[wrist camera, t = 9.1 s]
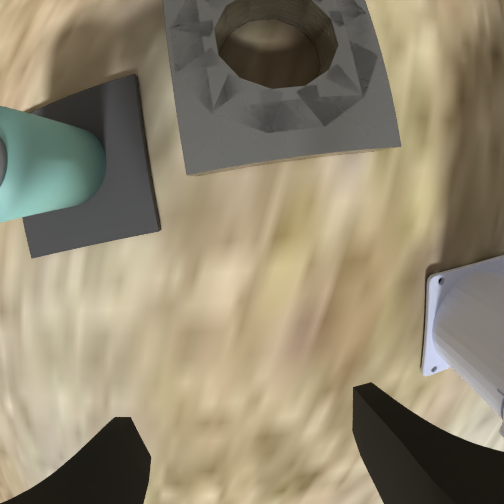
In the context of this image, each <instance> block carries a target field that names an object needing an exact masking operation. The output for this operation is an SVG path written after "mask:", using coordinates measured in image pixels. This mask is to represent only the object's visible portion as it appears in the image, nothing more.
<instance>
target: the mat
mask: <svg viewBox="0 0 504 504" xmlns="http://www.w3.org/2000/svg"><path fill="white" fill-rule="evenodd" d="M30 114H33V115H37V116H41V117H44V118H48V119H51V120H55V121H58V122H61V123H65V124H68V125H72V126H75V127H78V128H81V129H85V130H87V131H90V132H91V133H93V134H94V135H95V136H96V137H97V138H98V139H99V140H100V142H101V144H102V146H103V148H104V151H105V155H106V172H105V176H104V180H103V182H102V185H101V186H100V188H99V190H98V191H97V193H96V194H95V195H94V196H93V197H92V198H91V199H90V200H88V201H87V202H85V203H83V204H81V205H78V206H73V207H68V208H63V209H58V210H53V211H48V212H44V213H39V214H34V215H30V216H25V217H22V218H23V223H24V228H25V232H26V237H27V241H28V246H29V250H30V254H31V258H36V257H40V256H45V255H49V254H53V253H58V252H62V251H67V250H71V249H76V248H80V247H85V246H90V245H94V244H99V243H104V242H108V241H113V240H118V239H123V238H128V237H133V236H138V235H143V234H148V233H153V232H158V231H160V230H161V226H160V221H159V216H158V211H157V206H156V200H155V195H154V189H153V184H152V178H151V172H150V166H149V160H148V154H147V147H146V141H145V134H144V127H143V120H142V112H141V104H140V96H139V87H138V78H137V76H136V75H135V74H132V75H129V76H126V77H122V78H119V79H116V80H113V81H110V82H107V83H104V84H101V85H98V86H95V87H92V88H89V89H87V90H84V91H81V92H79V93H76V94H73V95H71V96H68V97H66V98H63V99H61V100H59V101H56V102H54V103H51V104H49V105H47V106H45V107H42V108H40V109H38V110H36V111H34V112H31V113H30Z"/></svg>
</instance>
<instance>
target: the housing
mask: <svg viewBox="0 0 504 504" xmlns="http://www.w3.org/2000/svg"><path fill="white" fill-rule="evenodd" d="M163 7H164V17H165V26H166V35H167V44H168V52H169V61H170V68H171V76H172V83H173V91H174V98H175V105H176V112H177V118H178V125H179V131H180V138H181V144H182V150H183V156H184V162H185V168H186V174H187V175H190V176H200V175H205V174H211V173H216V172H222V171H227V170H233V169H239V168H245V167H251V166H257V165H264V164H271V163H277V162H284V161H292V160H299V159H307V158H315V157H323V156H332V155H341V154H351V153H361V152H373V151H379V150H384V149H390V148H396V147H401V142H400V136H399V130H398V124H397V119H396V114H395V108H394V104H393V99H392V94H391V90H390V85H389V81H388V77H387V73H386V69H385V65H384V61H383V57H382V53H381V50H380V46H379V43H378V39H377V36H376V33H375V29H374V26H373V23H372V20H371V17H370V14H369V11H368V8H367V5H366V2H365V0H163ZM264 19H277V20H280V21H283V22H285V23H288V24H291V25H294V26H296V27H299V28H300V29H301V30H302V31H303V32H304V33H305V34H306V35H307V37H308V38H309V39H310V40H311V41H312V42H313V43H314V44H315V45H316V49H317V53H318V57H319V61H320V66H321V68H320V71H319V73H318V76H317V78H316V79H314V80H313V81H311V82H310V83H308V84H307V85H306V86H297V87H286V88H277V89H270V88H268V87H265V86H262V85H259V84H257V83H254V82H251V81H248V80H245V79H242V78H239V76H238V75H237V74H236V73H235V72H234V71H233V70H232V69H231V68H230V67H229V66H228V65H227V64H226V63H225V62H224V61H223V60H222V59H221V57H220V56H219V55H218V54H219V52H220V50H221V48H222V46H223V44H224V41H225V39H226V37H227V35H228V34H229V33H231V32H232V31H234V30H235V29H237V28H238V27H240V26H242V25H243V24H245V23H246V22H248V21H254V20H264Z"/></svg>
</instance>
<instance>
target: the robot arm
mask: <svg viewBox="0 0 504 504" xmlns="http://www.w3.org/2000/svg"><path fill="white" fill-rule="evenodd" d="M440 278H441V281H440V282H439V283H438V281H439V279H440ZM433 367H434V368H433ZM450 367H451V368H452V369H453V370H454V371H455V372H456V373H457V374H458V375H459V376H460V377H461V378H462V379H463V380H464V381H465V382H466V383H467V384H468V385H469V386H470V387H471V388H472V389H473V390H474V391H475V392H476V393H477V394H478V395H479V396H480V397H481V398H482V399H483V400H484V401H485V402H486V403H487V404H488V405H489V406H490V407H491V408H492V409H493V410H494V411H495V412H496V413H497V414H498V415H499V416H500V417H501V418H502V419H503V423H502V426H501V428H500V430H499V433H500V434H501V435H502V436H503V437H504V255H501V256H498V257H494V258H491V259H487V260H484V261H480V262H476V263H473V264H469V265H465V266H462V267H458V268H454V269H450V270H447V271H443V272H439V273H435V274H432V275H430V276H429V277H428V279H427V295H426V320H425V335H424V347H423V358H422V367H421V373H422V374H423V375H424V376H429V375H432V374H435V373H438V372H440V371H443V370H445V369H448V368H450ZM432 368H433V369H432ZM352 431H353V434H354V437H355V440H356V443H357V446H358V449H359V452H360V455H361V457H362V460H363V462H364V464H365V466H366V468H367V470H368V472H369V474H370V476H371V478H372V480H373V482H374V484H375V486H376V488H377V490H378V492H379V494H380V496H381V498H382V501H383V503H384V504H504V452H502V451H498V450H494V449H491V448H487V447H484V446H480V445H477V444H474V443H472V442H469V441H467V440H464V439H462V438H459V437H457V436H455V435H452V434H450V433H448V432H446V431H444V430H442V429H440V428H438V427H436V426H435V425H433V424H431V423H429V422H428V421H426V420H424V419H423V418H421V417H419V416H418V415H416V414H415V413H413V412H412V411H410V410H409V409H407V408H406V407H404V406H403V405H401V404H400V403H399V402H397V401H396V400H394V399H393V398H392V397H390V396H389V395H388V394H386V393H385V392H384V391H382V390H381V389H380V388H378V387H377V386H376V385H374V384H373V383H367V384H363V385H360V386H356V387H353V428H352ZM150 464H151V456H150V454H149V452H148V450H147V448H146V446H145V444H144V443H143V441H142V439H141V437H140V435H139V433H138V431H137V429H136V427H135V425H134V423H133V421H132V419H131V417H115V418H113V419H112V420H111V421H110V422H109V423H108V424H107V425H106V426H105V427H104V428H102V429H101V430H100V431H99V432H98V433H97V434H96V435H95V436H94V437H93V438H92V439H91V440H90V441H89V442H88V443H87V444H86V445H85V446H84V447H83V448H82V449H81V450H80V451H79V452H78V453H76V454H75V455H74V456H73V457H72V458H71V459H70V460H68V461H67V462H66V463H65V464H64V465H63V466H61V467H60V468H59V469H58V470H57V471H55V472H54V473H53V474H52V475H50V476H49V477H47V478H46V479H45V480H43V481H42V482H40V483H39V484H37V485H36V486H34V487H32V488H31V489H29V490H27V491H25V492H23V493H21V494H20V495H18V496H16V497H14V498H12V499H10V500H8V501H5V502H3V503H0V504H143V503H144V499H145V495H146V491H147V487H148V482H149V475H150Z"/></svg>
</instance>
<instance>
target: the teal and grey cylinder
mask: <svg viewBox="0 0 504 504" xmlns="http://www.w3.org/2000/svg"><path fill="white" fill-rule="evenodd" d="M105 172H106V155H105V151H104V148H103V146H102V144H101V142H100V140H99V139H98V138H97V137H96V136H95V135H94V134H93V133H91V132H90V131H87V130H85V129H81V128H78V127H75V126H72V125H68V124H65V123H61V122H58V121H55V120H51V119H48V118H44V117H41V116H37V115H33V114H30V113H26V112H22V111H19V110H15V109H11V108H7V107H2V106H0V222H4V221H8V220H13V219H17V218H21V217H25V216H30V215H34V214H39V213H44V212H48V211H53V210H58V209H63V208H68V207H73V206H78V205H81V204H83V203H85V202H87V201H88V200H90V199H91V198H92V197H93V196H94V195H95V194H96V193H97V191H98V190H99V188H100V186H101V185H102V182H103V180H104V176H105Z"/></svg>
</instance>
